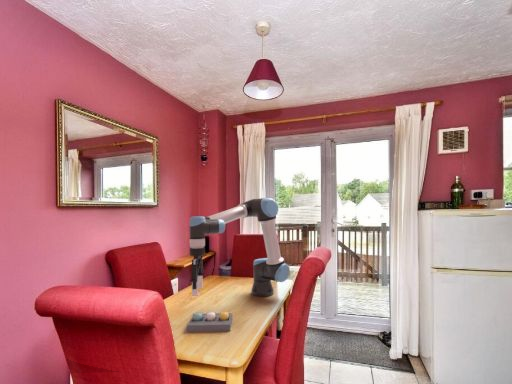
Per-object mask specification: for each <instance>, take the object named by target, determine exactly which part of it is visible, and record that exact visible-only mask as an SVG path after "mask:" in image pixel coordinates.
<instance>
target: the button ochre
mask: <svg viewBox="0 0 512 384" xmlns="http://www.w3.org/2000/svg"><path fill="white" fill-rule="evenodd" d="M219 313H220V321H227V320H228V319H229V313H230V312H228V311H221V312H219Z"/></svg>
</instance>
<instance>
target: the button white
mask: <svg viewBox="0 0 512 384" xmlns="http://www.w3.org/2000/svg"><path fill="white" fill-rule="evenodd" d="M215 313H216V312H214V311H208V312H206V313H205V314H206V320H207V321H214V320H215Z"/></svg>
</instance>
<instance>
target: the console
mask: <svg viewBox="0 0 512 384" xmlns="http://www.w3.org/2000/svg"><path fill="white" fill-rule="evenodd" d="M220 313H221V312H215V320H214V321H207V320H206V314H207V313H202V320H201V321H193V315H192V316H191V318H190V320H189V322H188V323H187V324H186V332H187V333H203V332H205V333H206V332H209V333H210V332H211V333H212V332H230V331H231V328H232V323H233V312H228V313H229V319H228V320H227V321H220Z"/></svg>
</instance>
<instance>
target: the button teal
mask: <svg viewBox="0 0 512 384" xmlns="http://www.w3.org/2000/svg"><path fill="white" fill-rule="evenodd" d="M192 314H193V315H192V316H193V321H201V320H202V314H203V313H202V312H201V311H198V312H194V313H192Z"/></svg>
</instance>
